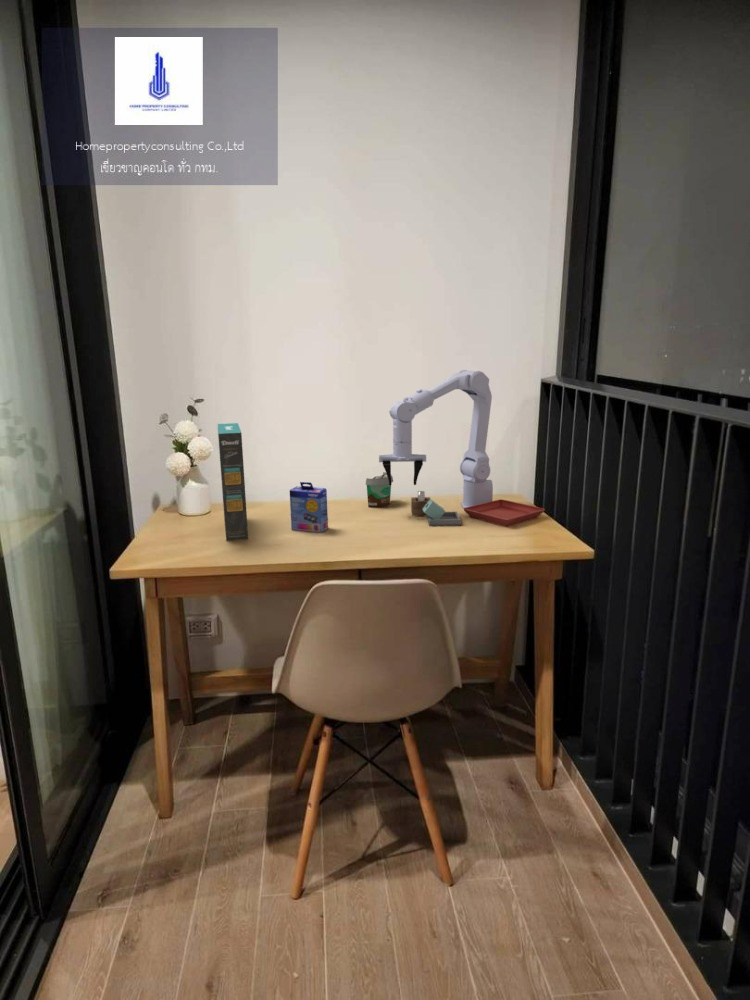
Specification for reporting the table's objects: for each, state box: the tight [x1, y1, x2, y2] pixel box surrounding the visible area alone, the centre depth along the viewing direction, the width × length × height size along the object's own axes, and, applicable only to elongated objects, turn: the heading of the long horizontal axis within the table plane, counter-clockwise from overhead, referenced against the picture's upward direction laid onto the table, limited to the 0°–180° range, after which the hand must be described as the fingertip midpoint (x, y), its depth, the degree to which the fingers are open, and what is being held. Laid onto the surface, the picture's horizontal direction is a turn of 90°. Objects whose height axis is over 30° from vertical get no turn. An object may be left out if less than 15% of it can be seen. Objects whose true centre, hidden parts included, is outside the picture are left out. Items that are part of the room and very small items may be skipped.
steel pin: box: [417, 490, 426, 501], centre depth 202 cm, size 2×2×7 cm
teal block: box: [423, 498, 446, 520], centre depth 192 cm, size 4×4×5 cm
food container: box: [365, 471, 394, 509], centre depth 213 cm, size 12×6×10 cm, turn 150°
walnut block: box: [410, 496, 431, 517], centre depth 203 cm, size 6×6×4 cm
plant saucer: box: [462, 499, 545, 527], centre depth 197 cm, size 18×18×3 cm
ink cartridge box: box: [289, 481, 329, 533], centre depth 186 cm, size 10×6×14 cm, turn 72°
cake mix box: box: [216, 422, 249, 542], centre depth 185 cm, size 22×6×30 cm, turn 14°
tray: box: [426, 511, 462, 527], centre depth 193 cm, size 9×9×2 cm
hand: (402, 484), depth 199 cm, fingers open, 7 cm apart
